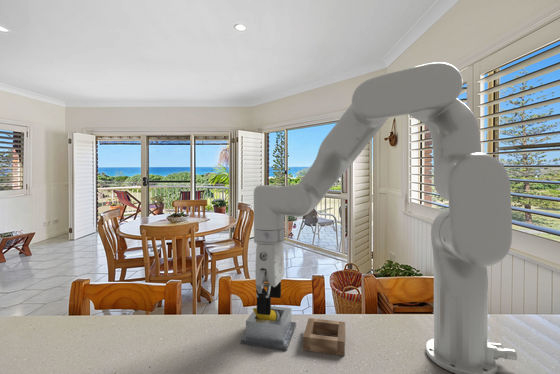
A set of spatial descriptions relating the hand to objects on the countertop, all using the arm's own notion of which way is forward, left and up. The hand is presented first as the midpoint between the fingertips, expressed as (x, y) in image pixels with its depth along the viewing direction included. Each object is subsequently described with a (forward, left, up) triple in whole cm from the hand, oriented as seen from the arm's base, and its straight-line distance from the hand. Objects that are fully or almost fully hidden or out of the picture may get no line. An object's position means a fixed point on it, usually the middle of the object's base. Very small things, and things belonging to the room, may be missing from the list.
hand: (269, 305), depth 69 cm
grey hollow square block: (0, 0, -7) cm, 7 cm away
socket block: (-13, 0, -7) cm, 15 cm away
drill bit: (0, +1, -6) cm, 6 cm away
